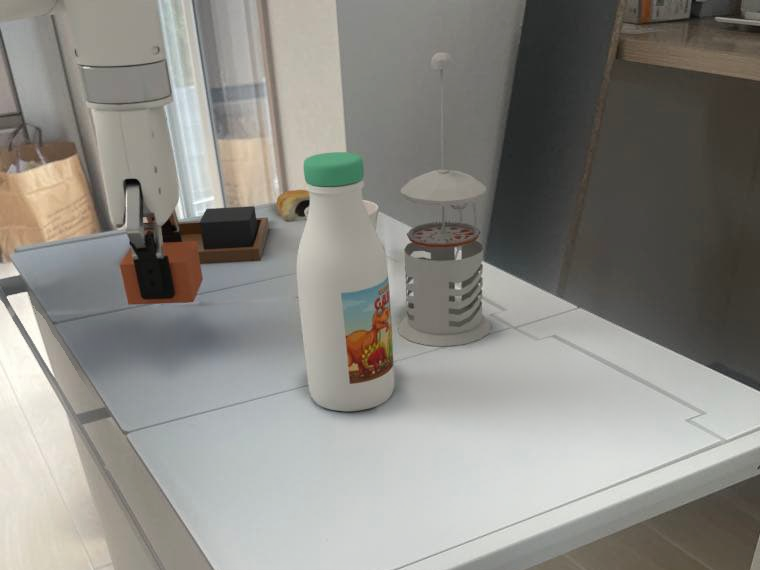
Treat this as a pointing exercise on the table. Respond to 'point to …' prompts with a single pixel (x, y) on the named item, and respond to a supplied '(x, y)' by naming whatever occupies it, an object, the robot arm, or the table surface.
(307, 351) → the milk bottle
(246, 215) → the seated pad
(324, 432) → the table surface
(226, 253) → the tray
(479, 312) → the french press
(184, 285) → the orange block
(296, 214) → the pastry
